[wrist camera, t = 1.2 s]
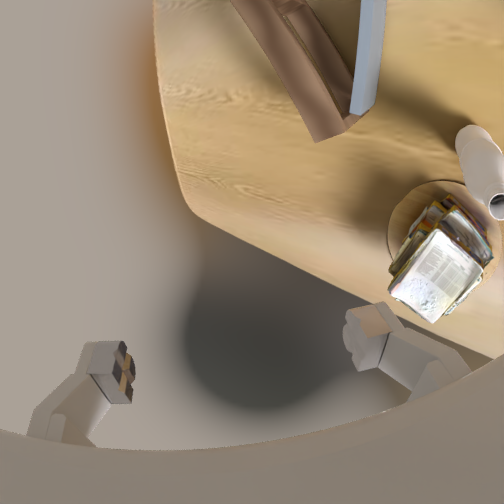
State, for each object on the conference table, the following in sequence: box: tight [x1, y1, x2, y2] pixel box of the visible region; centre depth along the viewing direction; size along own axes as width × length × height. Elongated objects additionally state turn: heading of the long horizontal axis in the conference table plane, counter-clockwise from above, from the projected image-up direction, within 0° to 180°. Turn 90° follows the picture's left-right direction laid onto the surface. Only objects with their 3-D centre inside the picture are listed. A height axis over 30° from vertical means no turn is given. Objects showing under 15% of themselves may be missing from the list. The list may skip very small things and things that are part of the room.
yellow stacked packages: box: [388, 181, 502, 323], centre depth 45 cm, size 25×25×17 cm
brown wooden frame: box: [230, 0, 369, 143], centre depth 37 cm, size 4×24×18 cm, turn 33°
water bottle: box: [455, 125, 504, 220], centre depth 29 cm, size 7×7×25 cm
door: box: [349, 0, 387, 116], centre depth 33 cm, size 2×20×12 cm, turn 178°
